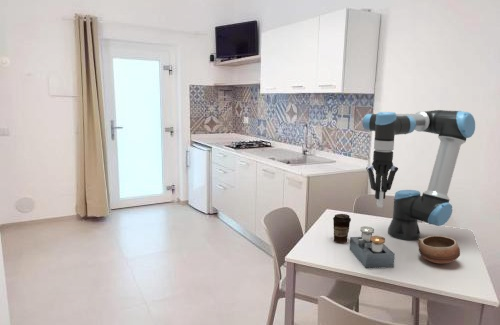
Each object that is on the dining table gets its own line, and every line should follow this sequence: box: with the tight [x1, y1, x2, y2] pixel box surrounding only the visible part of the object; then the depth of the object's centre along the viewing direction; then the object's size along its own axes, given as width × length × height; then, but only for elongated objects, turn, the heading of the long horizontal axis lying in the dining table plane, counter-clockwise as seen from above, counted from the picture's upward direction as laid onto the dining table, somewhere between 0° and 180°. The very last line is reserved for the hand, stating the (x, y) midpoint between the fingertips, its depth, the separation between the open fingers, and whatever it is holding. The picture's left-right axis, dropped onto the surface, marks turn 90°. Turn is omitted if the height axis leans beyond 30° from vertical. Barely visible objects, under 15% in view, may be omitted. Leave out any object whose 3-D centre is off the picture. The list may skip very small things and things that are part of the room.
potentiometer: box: [358, 239, 365, 247], centre depth 163 cm, size 3×3×3 cm
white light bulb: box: [359, 225, 375, 243], centre depth 169 cm, size 6×6×10 cm
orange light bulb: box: [370, 235, 386, 254], centre depth 159 cm, size 6×6×10 cm
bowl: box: [417, 235, 461, 264], centre depth 162 cm, size 16×16×10 cm
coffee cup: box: [332, 213, 352, 244], centre depth 182 cm, size 9×8×13 cm
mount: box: [349, 236, 396, 269], centre depth 165 cm, size 12×19×6 cm, turn 5°
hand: (379, 206), depth 157 cm, fingers closed
